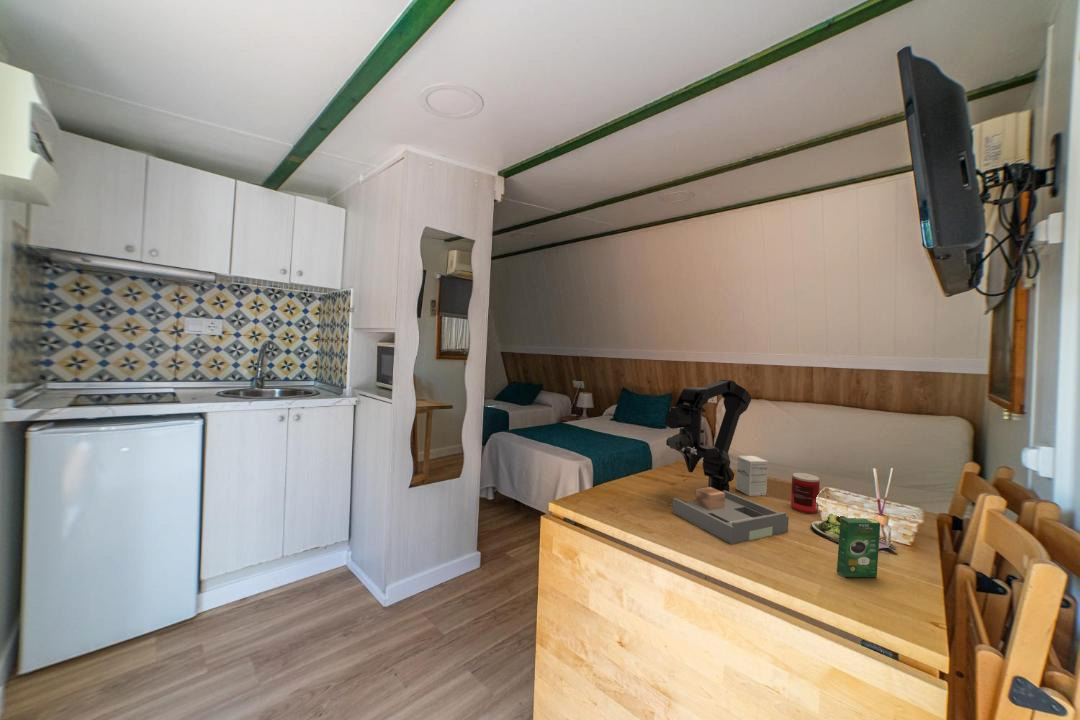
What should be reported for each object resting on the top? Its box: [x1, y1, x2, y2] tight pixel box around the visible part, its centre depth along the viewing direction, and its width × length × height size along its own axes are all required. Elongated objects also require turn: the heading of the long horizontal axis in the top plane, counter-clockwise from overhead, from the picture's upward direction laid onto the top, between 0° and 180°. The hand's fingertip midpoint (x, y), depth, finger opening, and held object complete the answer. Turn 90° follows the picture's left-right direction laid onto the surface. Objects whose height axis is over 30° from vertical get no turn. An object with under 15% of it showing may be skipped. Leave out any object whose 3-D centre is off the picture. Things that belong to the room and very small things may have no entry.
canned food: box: [790, 472, 821, 514], centre depth 139 cm, size 8×8×11 cm
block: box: [695, 486, 725, 510], centre depth 134 cm, size 6×6×4 cm
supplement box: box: [735, 455, 769, 497], centre depth 155 cm, size 7×7×13 cm
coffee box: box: [836, 517, 881, 579], centre depth 99 cm, size 8×3×13 cm, turn 93°
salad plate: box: [810, 513, 899, 551], centre depth 119 cm, size 19×18×5 cm
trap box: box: [671, 490, 790, 545], centre depth 128 cm, size 23×22×6 cm
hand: (690, 472), depth 142 cm, fingers closed
